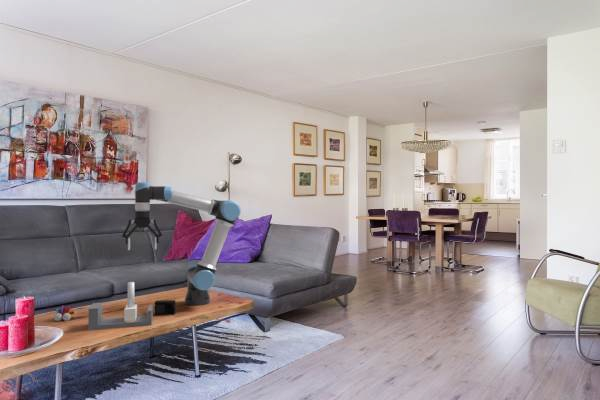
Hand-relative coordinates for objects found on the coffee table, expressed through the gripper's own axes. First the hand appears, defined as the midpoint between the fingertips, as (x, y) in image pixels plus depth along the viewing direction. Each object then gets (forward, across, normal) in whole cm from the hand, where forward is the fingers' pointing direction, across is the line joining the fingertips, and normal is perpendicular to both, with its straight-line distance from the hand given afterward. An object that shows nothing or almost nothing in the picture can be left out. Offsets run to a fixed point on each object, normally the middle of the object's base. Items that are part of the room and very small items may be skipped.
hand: (142, 249), depth 224 cm
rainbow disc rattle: (+35, +38, 0) cm, 51 cm away
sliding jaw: (+32, +4, +18) cm, 37 cm away
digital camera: (+35, -12, +4) cm, 37 cm away
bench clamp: (+35, +8, +18) cm, 40 cm away
